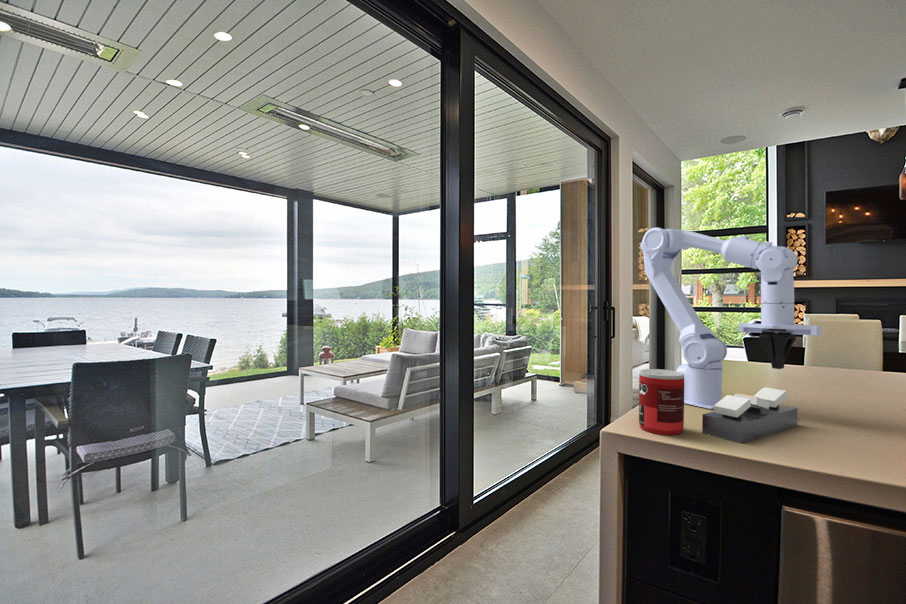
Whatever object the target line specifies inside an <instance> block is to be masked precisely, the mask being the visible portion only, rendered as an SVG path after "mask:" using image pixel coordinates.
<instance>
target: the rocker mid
mask: <svg viewBox="0 0 906 604" xmlns="http://www.w3.org/2000/svg"><path fill="white" fill-rule="evenodd" d="M733 396H736V397H742V398H747V399H750V402H751V406H754V407H759V408H764V409H769V404H770V402H768V401H766V400H763V399H760V398H758V397H756V396H754V395H752V394H751V395H750V394H745V393H744V394H743V393H740V392H738V393H736V392H735V393H734V395H733Z"/></svg>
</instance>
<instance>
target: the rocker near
mask: <svg viewBox="0 0 906 604" xmlns="http://www.w3.org/2000/svg"><path fill="white" fill-rule="evenodd" d="M749 407H751V402H750V399H747V398H742V397H736V396H734V395H731V394H727V395H725V396H724V397H722V399H721V400H720V401H719V402H718V403H716V404H715V405H714V409H713V410H714V411H713V412H715V413H719V414H723V415H728V416H732V417H739V416H740V415H741V414H742V413H743V412H745V411H746V410H747V409H748V408H749Z"/></svg>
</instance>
